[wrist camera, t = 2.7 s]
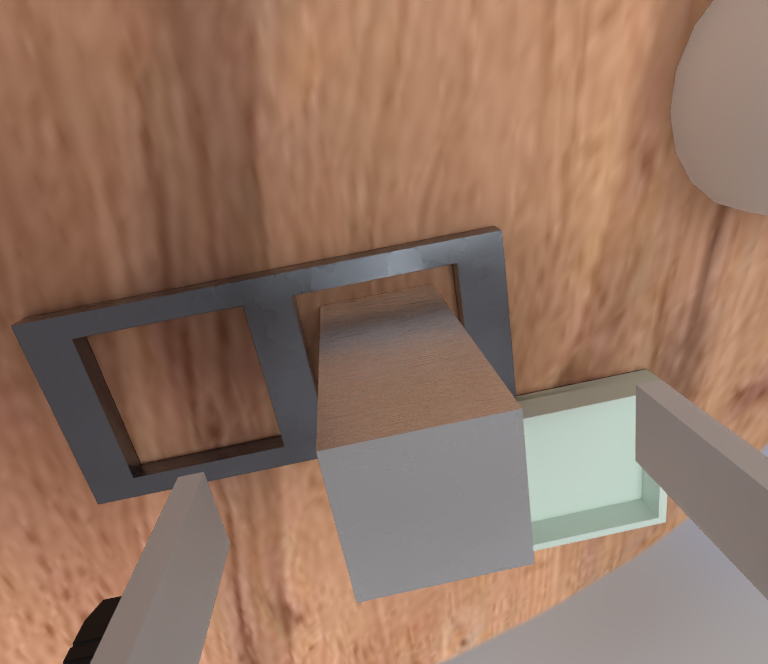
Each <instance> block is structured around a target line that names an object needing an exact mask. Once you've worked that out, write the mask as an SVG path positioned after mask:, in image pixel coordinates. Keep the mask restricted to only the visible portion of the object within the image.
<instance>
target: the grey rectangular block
mask: <svg viewBox="0 0 768 664" xmlns="http://www.w3.org/2000/svg"><path fill="white" fill-rule="evenodd" d="M316 453H317V457H318V461H319V464H320V468H321V472H322V476H323V479H324V483H325V487H326V491H327V494H328V498H329V502H330V505H331V509H332V513H333V517H334V520H335V524H336V528H337V532H338V535H339V539H340V543H341V547H342V550H343V554H344V558H345V561H346V565H347V569H348V573H349V576H350V580H351V584H352V588H353V591H354V595H355V599H356V602H357V603H358V602H363V601H367V600H372V599H376V598H381V597H385V596H390V595H394V594H399V593H403V592H408V591H412V590H417V589H421V588H426V587H430V586H435V585H440V584H444V583H449V582H453V581H458V580H462V579H467V578H471V577H476V576H480V575H485V574H489V573H494V572H498V571H503V570H507V569H512V568H516V567H521V566H525V565H530V564H535V563H534V551H533V538H532V525H531V513H530V500H529V487H528V474H527V462H526V449H525V436H524V424H523V411H522V407H521V406H520V405H519V403H518V402H517V400H516V399H515V398H514V396H513V395H512V394H511V392H510V391H509V389H508V388H507V387H506V385H505V384H504V382H503V381H502V380H501V378H500V377H499V376H498V374H497V373H496V371H495V370H494V369H493V367H492V366H491V364H490V363H489V362H488V360H487V359H486V358H485V356H484V355H483V353H482V352H481V351H480V349H479V348H478V346H477V345H476V344H475V342H474V341H473V340H472V338H471V337H470V335H469V334H468V333H467V331H466V330H465V328H464V327H463V326H462V324H461V323H460V322H459V320H458V319H457V317H456V316H455V315H454V313H453V312H452V310H451V309H450V308H449V306H448V305H447V304H446V302H445V301H444V299H443V298H442V297H441V295H440V294H439V292H438V291H437V290H436V288H435V287H434V286H433V284H428V285H423V286H418V287H413V288H408V289H403V290H398V291H393V292H388V293H383V294H378V295H373V296H368V297H363V298H358V299H353V300H348V301H343V302H338V303H333V304H328V305H323V306H321V313H320V344H319V376H318V407H317V439H316Z"/></svg>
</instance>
